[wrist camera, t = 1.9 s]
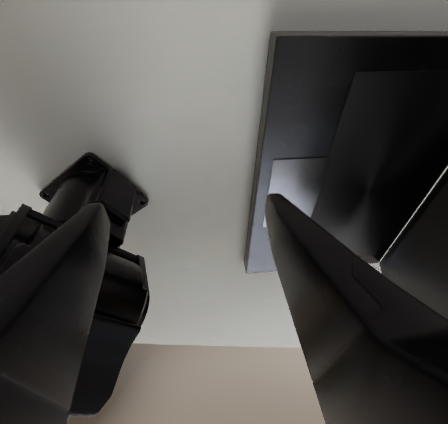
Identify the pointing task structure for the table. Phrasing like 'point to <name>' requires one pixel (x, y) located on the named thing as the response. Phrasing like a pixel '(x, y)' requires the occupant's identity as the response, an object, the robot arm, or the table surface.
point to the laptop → (350, 134)
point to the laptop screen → (423, 252)
